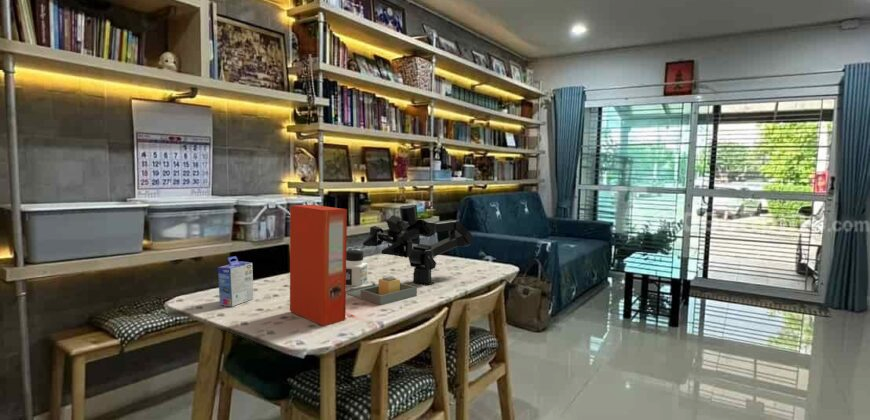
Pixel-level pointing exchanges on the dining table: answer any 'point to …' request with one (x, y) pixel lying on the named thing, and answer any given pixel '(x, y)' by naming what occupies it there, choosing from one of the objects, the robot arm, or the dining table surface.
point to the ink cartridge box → (235, 282)
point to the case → (374, 296)
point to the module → (388, 285)
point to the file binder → (318, 263)
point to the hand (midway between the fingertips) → (372, 248)
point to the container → (355, 268)
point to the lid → (359, 289)
